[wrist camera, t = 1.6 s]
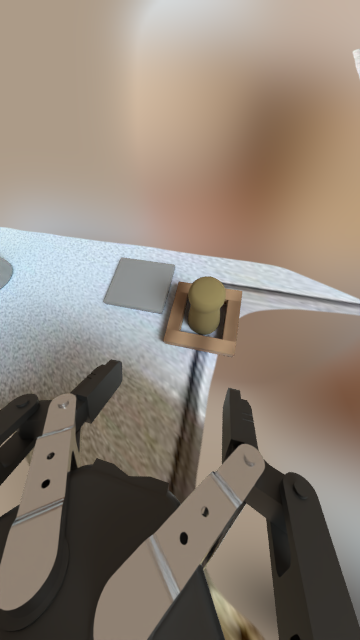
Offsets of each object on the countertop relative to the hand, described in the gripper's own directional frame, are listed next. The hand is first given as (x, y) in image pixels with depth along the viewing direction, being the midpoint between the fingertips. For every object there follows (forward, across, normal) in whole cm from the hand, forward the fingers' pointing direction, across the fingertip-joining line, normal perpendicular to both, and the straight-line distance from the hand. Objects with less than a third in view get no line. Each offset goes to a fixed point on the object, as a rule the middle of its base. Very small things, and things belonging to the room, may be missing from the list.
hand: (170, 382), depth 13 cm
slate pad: (+25, +13, 0) cm, 28 cm away
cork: (+22, -1, +4) cm, 22 cm away
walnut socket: (+21, -1, +4) cm, 22 cm away
